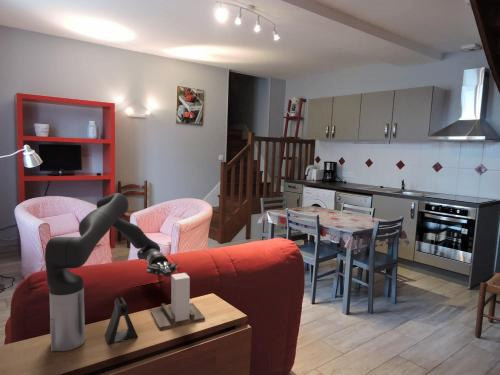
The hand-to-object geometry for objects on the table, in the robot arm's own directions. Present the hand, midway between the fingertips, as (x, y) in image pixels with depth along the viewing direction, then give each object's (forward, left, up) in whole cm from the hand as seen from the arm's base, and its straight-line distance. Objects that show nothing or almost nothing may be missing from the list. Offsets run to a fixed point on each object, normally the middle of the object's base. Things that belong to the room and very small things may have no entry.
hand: (168, 274), depth 136 cm
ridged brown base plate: (0, -12, -12) cm, 17 cm away
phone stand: (-20, -17, -12) cm, 29 cm away
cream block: (0, -15, -10) cm, 18 cm away
